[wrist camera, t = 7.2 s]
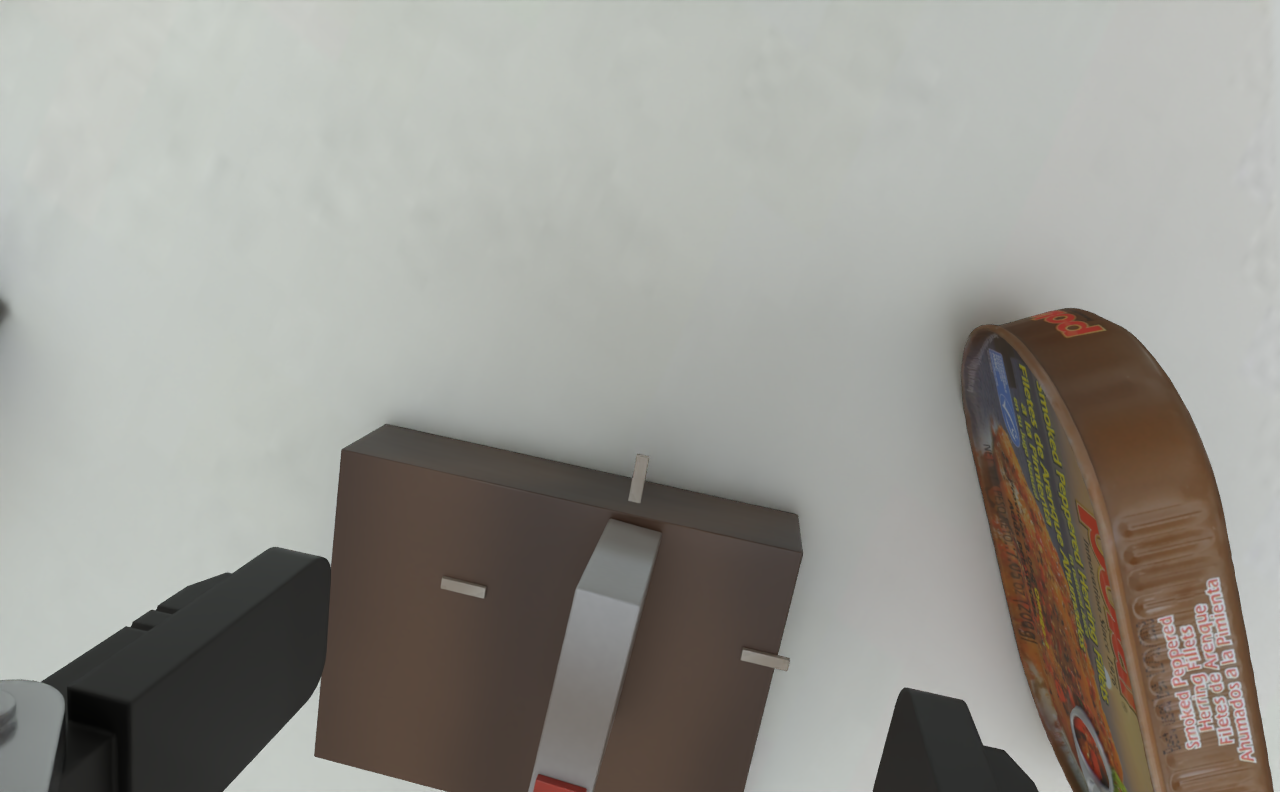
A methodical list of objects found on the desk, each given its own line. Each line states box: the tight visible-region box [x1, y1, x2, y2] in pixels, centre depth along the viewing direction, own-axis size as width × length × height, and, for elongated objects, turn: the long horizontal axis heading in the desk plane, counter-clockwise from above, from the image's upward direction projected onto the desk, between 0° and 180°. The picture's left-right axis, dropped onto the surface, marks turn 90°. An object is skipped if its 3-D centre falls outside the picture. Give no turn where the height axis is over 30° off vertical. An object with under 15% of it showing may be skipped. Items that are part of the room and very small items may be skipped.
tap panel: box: [314, 424, 803, 792], centre depth 26 cm, size 14×13×3 cm
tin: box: [961, 308, 1274, 792], centre depth 21 cm, size 15×3×8 cm, turn 17°
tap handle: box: [528, 519, 662, 792], centre depth 22 cm, size 6×2×5 cm, turn 167°
